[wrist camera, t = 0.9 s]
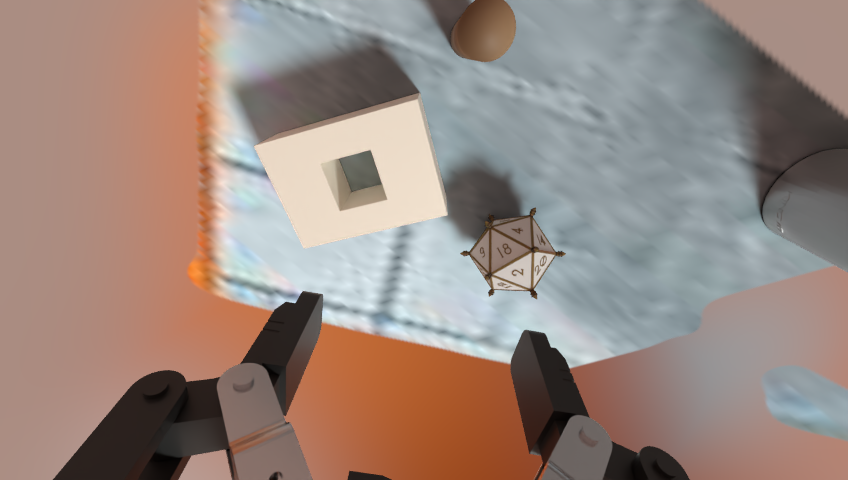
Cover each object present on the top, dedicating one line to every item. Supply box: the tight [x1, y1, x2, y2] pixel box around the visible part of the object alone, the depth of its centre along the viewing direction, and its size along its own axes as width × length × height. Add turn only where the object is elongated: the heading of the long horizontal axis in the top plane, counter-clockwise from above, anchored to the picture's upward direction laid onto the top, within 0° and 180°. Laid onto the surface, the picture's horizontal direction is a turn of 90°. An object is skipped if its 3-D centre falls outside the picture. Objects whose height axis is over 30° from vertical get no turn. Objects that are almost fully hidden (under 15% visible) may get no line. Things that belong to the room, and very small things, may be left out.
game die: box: [460, 207, 566, 299], centre depth 34 cm, size 9×8×10 cm
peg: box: [450, 0, 516, 62], centre depth 24 cm, size 3×3×12 cm
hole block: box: [254, 93, 447, 248], centre depth 32 cm, size 14×10×5 cm
